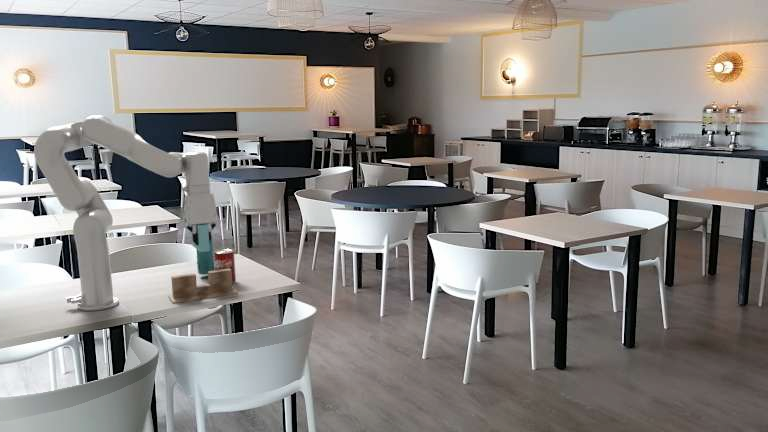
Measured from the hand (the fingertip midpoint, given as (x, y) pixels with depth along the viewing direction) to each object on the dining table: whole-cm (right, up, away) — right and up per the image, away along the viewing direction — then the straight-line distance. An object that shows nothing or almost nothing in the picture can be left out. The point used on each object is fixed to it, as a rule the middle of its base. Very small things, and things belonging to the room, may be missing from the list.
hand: (202, 243), depth 223 cm
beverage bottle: (-7, -14, +32) cm, 36 cm away
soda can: (+3, -16, +22) cm, 28 cm away
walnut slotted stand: (-2, -18, +7) cm, 20 cm away
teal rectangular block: (-2, -2, +4) cm, 4 cm away
